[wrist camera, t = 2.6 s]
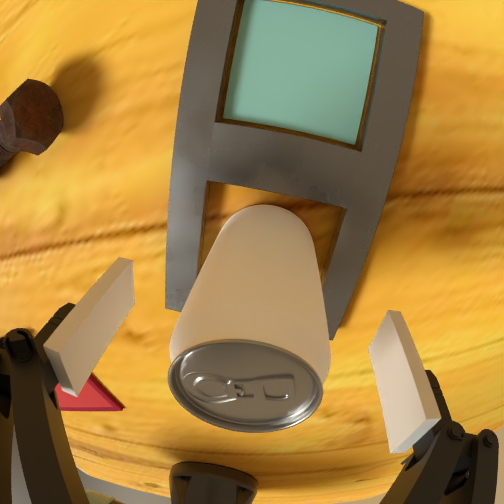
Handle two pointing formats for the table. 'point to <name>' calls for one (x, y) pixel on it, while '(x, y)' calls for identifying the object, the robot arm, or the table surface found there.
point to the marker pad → (300, 69)
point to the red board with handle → (85, 397)
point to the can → (253, 327)
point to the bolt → (29, 120)
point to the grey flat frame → (288, 148)
